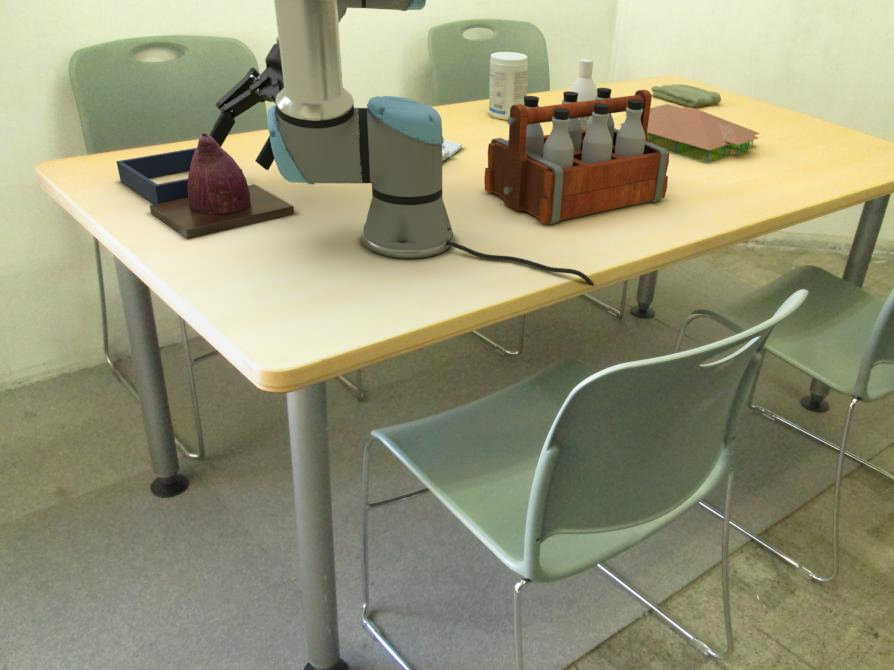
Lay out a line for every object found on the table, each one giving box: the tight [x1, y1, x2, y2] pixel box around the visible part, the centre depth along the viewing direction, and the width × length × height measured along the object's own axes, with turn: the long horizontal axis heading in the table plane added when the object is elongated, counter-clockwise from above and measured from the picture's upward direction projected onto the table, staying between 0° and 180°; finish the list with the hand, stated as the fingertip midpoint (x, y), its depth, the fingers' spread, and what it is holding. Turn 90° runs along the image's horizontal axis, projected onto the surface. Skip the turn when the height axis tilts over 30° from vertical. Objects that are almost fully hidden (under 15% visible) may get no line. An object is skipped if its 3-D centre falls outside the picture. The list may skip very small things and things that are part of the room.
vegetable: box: [187, 131, 251, 215], centre depth 146 cm, size 10×10×15 cm
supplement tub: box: [488, 51, 529, 121], centre depth 214 cm, size 10×10×15 cm
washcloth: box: [650, 84, 722, 108], centre depth 244 cm, size 13×18×3 cm
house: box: [619, 103, 760, 164], centre depth 207 cm, size 23×33×8 cm
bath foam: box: [569, 58, 598, 130], centre depth 191 cm, size 7×7×20 cm
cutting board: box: [149, 183, 295, 239], centre depth 151 cm, size 14×20×2 cm
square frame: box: [116, 147, 243, 205], centre depth 160 cm, size 17×17×4 cm
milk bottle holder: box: [483, 87, 670, 225], centre depth 165 cm, size 21×35×19 cm, turn 126°
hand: (235, 156), depth 149 cm, fingers open, 13 cm apart
